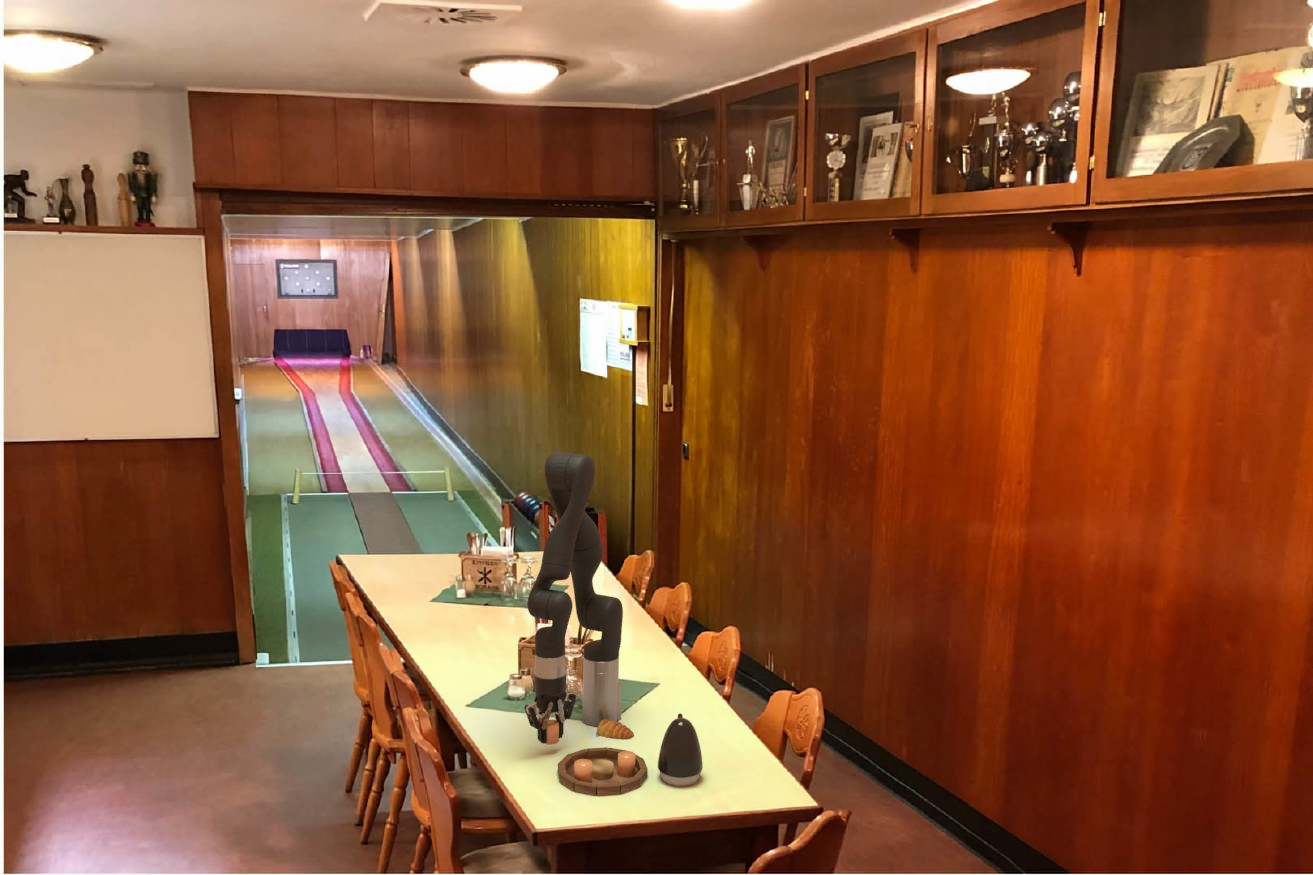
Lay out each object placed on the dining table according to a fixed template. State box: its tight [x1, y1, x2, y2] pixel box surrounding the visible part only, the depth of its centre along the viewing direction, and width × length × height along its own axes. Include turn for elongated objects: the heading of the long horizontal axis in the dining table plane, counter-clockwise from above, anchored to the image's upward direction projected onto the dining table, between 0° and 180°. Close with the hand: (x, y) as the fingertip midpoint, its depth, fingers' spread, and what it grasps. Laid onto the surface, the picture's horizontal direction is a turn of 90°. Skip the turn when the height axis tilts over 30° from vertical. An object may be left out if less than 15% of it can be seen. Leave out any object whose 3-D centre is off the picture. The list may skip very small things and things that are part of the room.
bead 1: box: [544, 719, 560, 746], centre depth 247 cm, size 4×4×4 cm
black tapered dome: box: [657, 713, 704, 787], centre depth 234 cm, size 10×10×15 cm
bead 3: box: [618, 750, 636, 777], centre depth 237 cm, size 4×4×4 cm
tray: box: [557, 746, 649, 797], centre depth 236 cm, size 20×20×4 cm
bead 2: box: [574, 759, 592, 783], centre depth 232 cm, size 4×4×4 cm
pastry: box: [595, 720, 635, 740], centre depth 259 cm, size 9×7×4 cm
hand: (550, 739), depth 247 cm, fingers closed on bead 1, 4 cm apart
